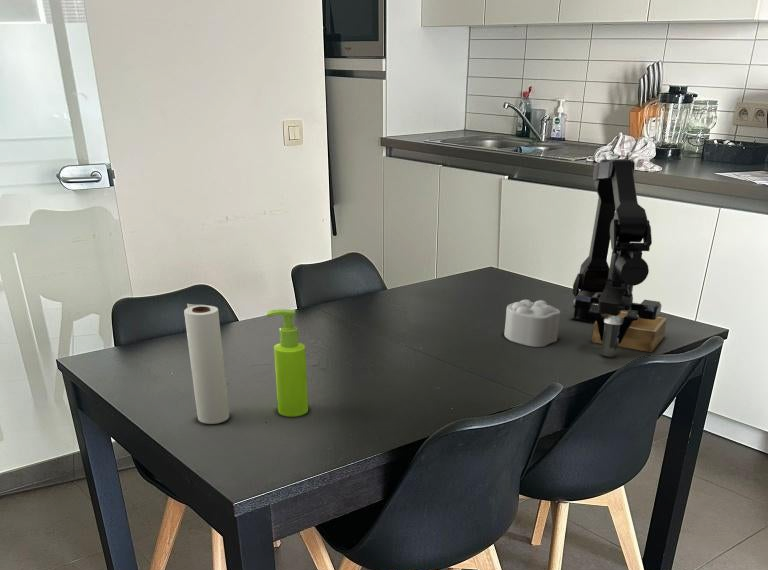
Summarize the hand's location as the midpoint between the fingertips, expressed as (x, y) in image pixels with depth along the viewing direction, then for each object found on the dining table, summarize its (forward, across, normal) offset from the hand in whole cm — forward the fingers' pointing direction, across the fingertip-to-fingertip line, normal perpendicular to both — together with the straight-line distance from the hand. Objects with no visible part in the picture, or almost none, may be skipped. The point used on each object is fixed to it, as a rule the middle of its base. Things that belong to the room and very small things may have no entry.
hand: (610, 341), depth 180 cm
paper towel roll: (+3, -57, -74) cm, 94 cm away
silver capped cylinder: (+3, 0, 0) cm, 3 cm away
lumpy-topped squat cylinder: (+4, -21, +3) cm, 21 cm away
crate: (+4, +1, +14) cm, 14 cm away
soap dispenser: (+3, -46, -64) cm, 79 cm away
